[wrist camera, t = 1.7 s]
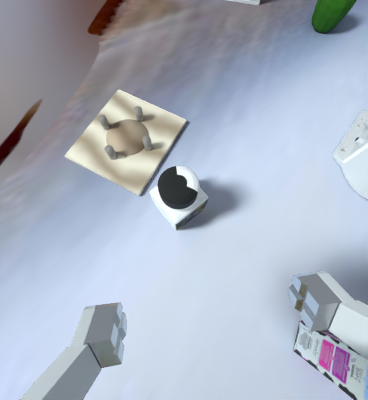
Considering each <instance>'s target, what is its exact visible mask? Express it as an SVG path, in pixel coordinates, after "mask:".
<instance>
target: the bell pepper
mask: <svg viewBox="0 0 368 400" xmlns="http://www.w3.org/2000/svg"><path fill="white" fill-rule="evenodd" d="M355 2H356V0H318V1H317V4H316V7H315V10H314V13H313V16H312V24H313V25H314V26H313V27H314V29H315V30H316V31H318V32H322V33H325V32H327V31H329V30H330V29H332V28H334V27H335V26H336V25H337V24H338V23H339V22H340V21H341V20H342V19H343V18H344V16H345V15H346V14H347V13H348V12H349V11H350V9H351V8H352V6H353V5H354V3H355Z"/></svg>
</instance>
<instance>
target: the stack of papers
mask: <svg viewBox="0 0 368 400" xmlns="http://www.w3.org/2000/svg"><path fill="white" fill-rule="evenodd" d="M228 1H235V2H241V3H248V4H254V5H259V3H260V0H228Z"/></svg>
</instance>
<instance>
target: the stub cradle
mask: <svg viewBox="0 0 368 400" xmlns="http://www.w3.org/2000/svg"><path fill="white" fill-rule="evenodd" d="M185 124H186V119H183V118H181V117H179V116H177V115H174V114H172V113H170V112H168V111H166V110H163V109H161V108H159V107H157V106H154V105H152V104H150V103H148V102H146V101H143V100H141V99H139V98H137V97H134V96H132V95H130V94H128V93H126V92H123V91H121V90H119V89H118V91H117V92H116V93H115V94H114V95H113V97H112V98H111V99H110V100H109V102H108V103H107V104H106V105H105V107H104V108H103V109H102V110H101V112H100V113H99V114H98V115H97V116H96V118H95V119H94V120H93V121H92V123H91V124H90V125H89V126H88V128H87V129H86V130H85V131H84V132H83V134H82V135H81V136H80V137H79V139H78V140H77V141H76V142H75V144H74V145H73V146H72V147H71V149H70V150H69V151H68V152H67V153H66V155H65V157H66V158H68V159H70V160H71V161H73V162H75V163H77V164H79V165H81V166H83V167H85V168H87V169H89V170H90V171H92V172H94V173H96V174H98V175H100V176H102V177H104V178H106V179H108V180H109V181H111V182H113V183H115V184H117V185H119V186H121V187H123V188H125V189H127V190H128V191H130V192H132V193H134V194H136V195H138V196H140V195H141V193H142V192H143V190H144V189H145V187H146V185H147V184H148V182H149V181H150V179H151V178H152V176H153V174H154V173H155V171H156V170H157V168H158V167H159V165H160V163H161V162H162V160H163V159H164V157H165V156H166V154H167V152H168V151H169V149H170V148H171V146H172V145H173V143H174V141H175V140H176V138H177V137H178V135H179V134H180V132H181V130H182V129H183V127H184V126H185Z"/></svg>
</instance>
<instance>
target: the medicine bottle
mask: <svg viewBox="0 0 368 400" xmlns="http://www.w3.org/2000/svg"><path fill="white" fill-rule="evenodd" d="M150 195H151V197H152V199H153V201H154V204H155V205H156V206H157V208H158V209H159V210H160V211H161V213H162V214H163V215H164V216H165V218H166V219H167V220H168V221H169V222H170V224H171V225H172V226H173V227H174V229H175V230H179V229H180V228H181V227H183V226H184V225H185V224H186V223H187V222H189V221H190V220H191V219H192V218H194V217H195V216H196V215H197V214H198V213H200V212H201V211H202V210H203V209H204V208H205V205H206V203H207V200H208V196H207V195H206V193H205V192H204V191H203V190H202V189H201V188H200V187H199V180H198V177H197V176H196V174H195V173H194V172H193V171H192V170H190V169H189V168H186V167H183V166H174V167H171V168H168V169H167V170H165V171H164V172H163V173H162V174H161V176H160V178H159V180H158V186H156V187H155V188H153V189H152V190H151V191H150Z"/></svg>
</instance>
